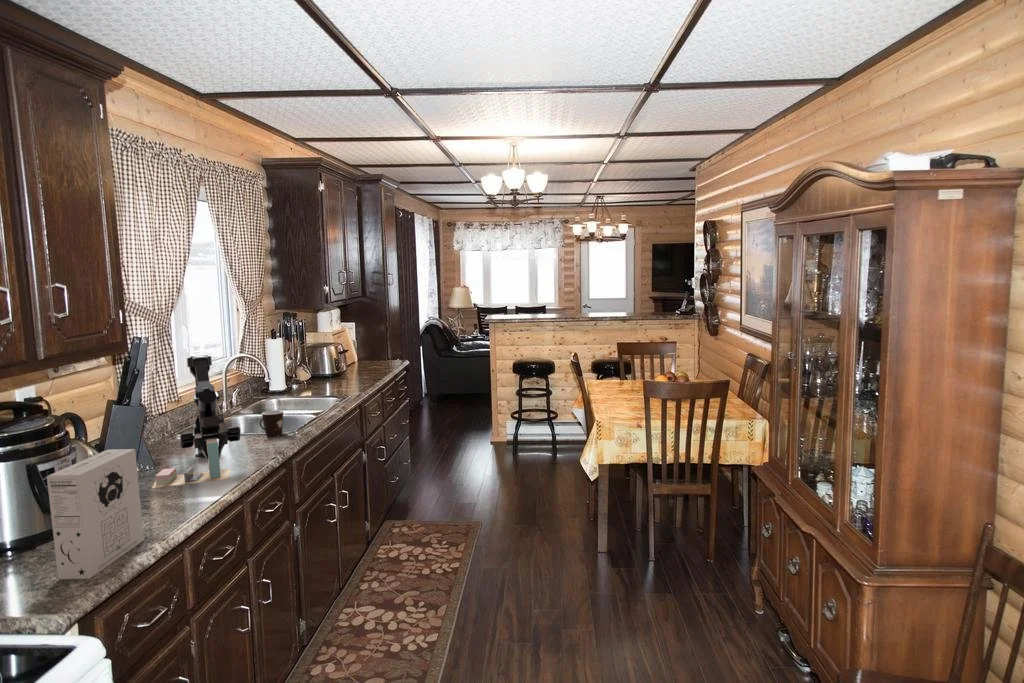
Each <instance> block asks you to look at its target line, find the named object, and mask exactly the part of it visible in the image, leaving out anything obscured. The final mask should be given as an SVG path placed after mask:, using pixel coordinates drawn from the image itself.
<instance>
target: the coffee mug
mask: <svg viewBox="0 0 1024 683" xmlns="http://www.w3.org/2000/svg"><path fill="white" fill-rule="evenodd" d="M261 416H262V418H261V419H260V420H259V426H260V428H261V429H263V430H264V431H265V436H267V438H275V437H274V436H278V435H281V434H282V435H283V425H284V424H283V420H284V411H283V410H279V409H277V410H276V409H275V410H274V409H273V410H267V411H263V412H262V413H261ZM262 422H263V425H262ZM263 426H264V427H263ZM282 435H281V436H282ZM278 437H279V436H278Z"/></svg>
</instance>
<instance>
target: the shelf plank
mask: <svg viewBox="0 0 1024 683" xmlns="http://www.w3.org/2000/svg"><path fill="white" fill-rule="evenodd" d="M231 470H232V469H231V468H224V469H220V475H221V477H218V478H212V479H210V476H209V470H207V471H199V472H193V474H203V475H202V476H201V477H200V478H199V480H198V481H193V482H185V479H184V473H183V474H177V477H176V478H175V479H174V480H173V481H172V482H171V483H170V484H161V485H156V480H155V481H154V483H153V485H152V486H151V489H156V488H165V487H172V486H181V485H182V486H183V485H189V484H197V483H205V482H213V481H214V482H215V481H222V480H229V478H230V475H231V474H230V473H231Z"/></svg>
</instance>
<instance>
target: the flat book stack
mask: <svg viewBox="0 0 1024 683" xmlns="http://www.w3.org/2000/svg"><path fill="white" fill-rule="evenodd" d="M177 475H178V472H177V467H171V468H170V467H169V468H162V470H160V471H159V472H158V473H156V475H155V481H156V485H161V484H170V483H171V482H172V481H173V480H174V479H175V478H176V477H177Z"/></svg>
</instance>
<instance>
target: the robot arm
mask: <svg viewBox="0 0 1024 683" xmlns="http://www.w3.org/2000/svg"><path fill="white" fill-rule="evenodd" d="M212 362H213V361H212V356H210V355H208V353H202V354H190V355H189V357H187V358H186V363H187V365H186V366H187V368H189V372H190V374H191V375H192V376H193V378H194V381H195V382H194V383H195V388H194V391H195V392H194V393H193V395H192V397H193V404H194V405H196V407H197V411H198V415H197V417H196V419H195V421H194V425H193V427H192V428H193V431H190V432H184V433H183V432H182V433H181V434H180V436H179V439H180V441H179V442H180V448H181V449H188V448H189V449H190V448H192V447H194V449H197V454H194V457H200V458H205V459H206V460H207V461H208V452H207V444H206V440H208V439H217V440H218V450H219V459H220V458H221V455H222V452H223V449H224V447H225V445H227V444H228V443H229V442H230V443H233V442H238V441H240V440H241V428H240V426H238V425H237V426H229V427H227V429H226V431H221V426H220V425H222V424H223V425H224V422H225V419H224V414H223V413H218V412H217V406H218V405H217V403H218V402H219V400H220V399H221V398H220V394H219V393H218V392H217V391H215V385H213V384H212V383H210V375H209V372H210V369H211V366H213V363H212ZM217 413H218V414H217Z"/></svg>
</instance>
